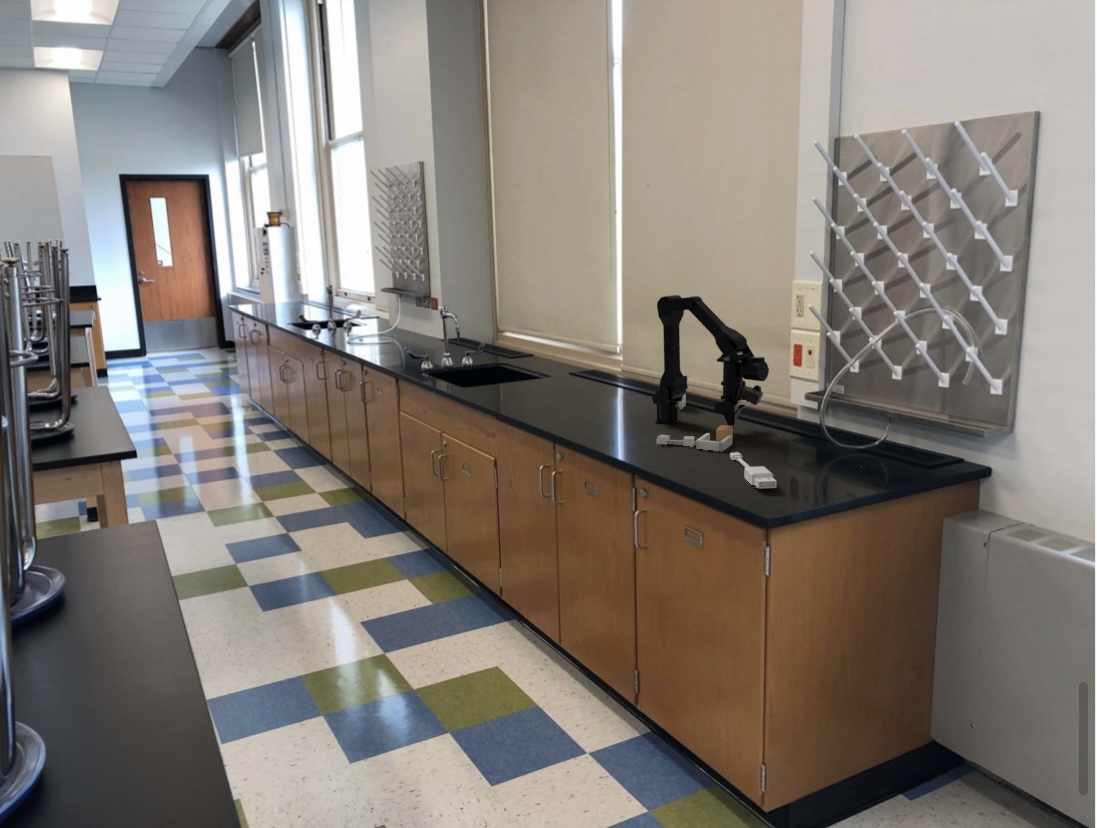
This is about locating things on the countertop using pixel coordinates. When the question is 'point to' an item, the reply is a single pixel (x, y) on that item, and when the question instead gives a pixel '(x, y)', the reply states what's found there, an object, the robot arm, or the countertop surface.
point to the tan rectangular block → (723, 432)
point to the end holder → (713, 443)
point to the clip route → (666, 440)
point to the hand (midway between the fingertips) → (732, 429)
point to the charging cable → (755, 473)
